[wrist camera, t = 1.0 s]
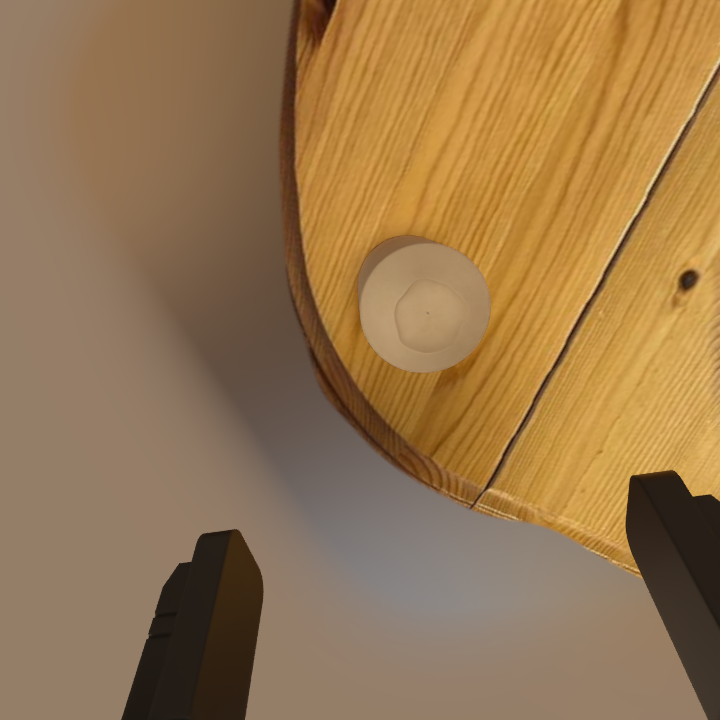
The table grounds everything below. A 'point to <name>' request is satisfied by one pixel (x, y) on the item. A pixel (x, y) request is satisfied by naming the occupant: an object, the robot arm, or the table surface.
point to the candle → (422, 304)
